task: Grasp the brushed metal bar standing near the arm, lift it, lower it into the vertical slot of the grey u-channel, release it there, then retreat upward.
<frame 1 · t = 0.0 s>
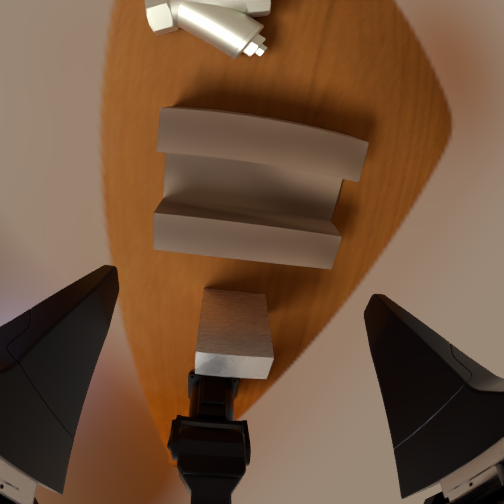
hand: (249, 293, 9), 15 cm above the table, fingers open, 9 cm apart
grey u-channel: (253, 180, 22), on the table
brushed metal bar: (233, 302, 28), on the table
pipe fitting: (213, 26, 16), on the table
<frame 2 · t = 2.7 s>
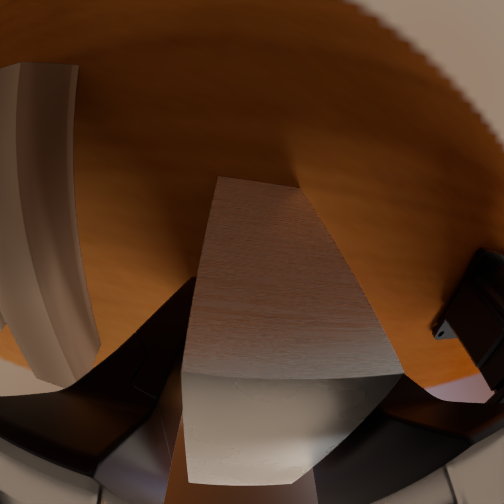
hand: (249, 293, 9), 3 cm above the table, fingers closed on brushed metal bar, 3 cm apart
grey u-channel: (0, 224, 10), on the table
brushed metal bar: (246, 253, 12), on the table, touching gripper
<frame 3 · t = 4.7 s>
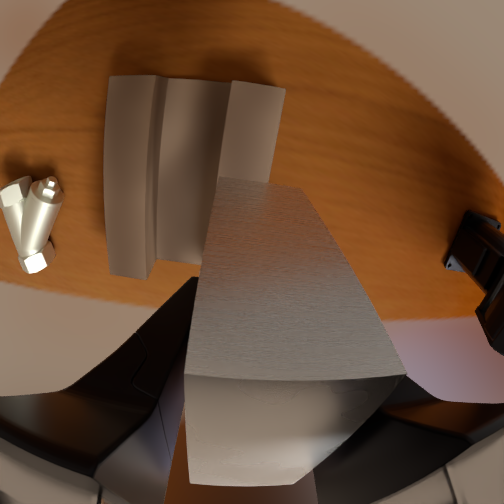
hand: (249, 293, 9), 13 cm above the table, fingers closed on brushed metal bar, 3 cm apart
grey u-channel: (189, 176, 20), on the table
brushed metal bar: (247, 254, 12), point 10 cm above the table, touching gripper
pipe fitting: (48, 212, 21), on the table
when the fingers open (4 cm above the table, at t = 7.0 s): brushed metal bar drops 1 cm, resting on grey u-channel.
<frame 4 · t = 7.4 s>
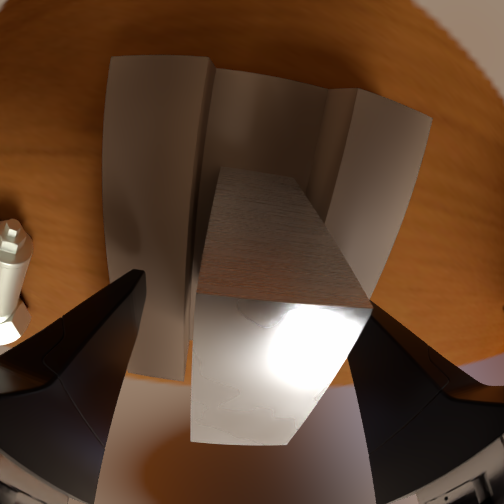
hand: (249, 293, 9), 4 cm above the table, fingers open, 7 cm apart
grey u-channel: (244, 232, 13), on the table
brushed metal bar: (245, 237, 13), resting on grey u-channel
pipe fitting: (16, 261, 14), on the table
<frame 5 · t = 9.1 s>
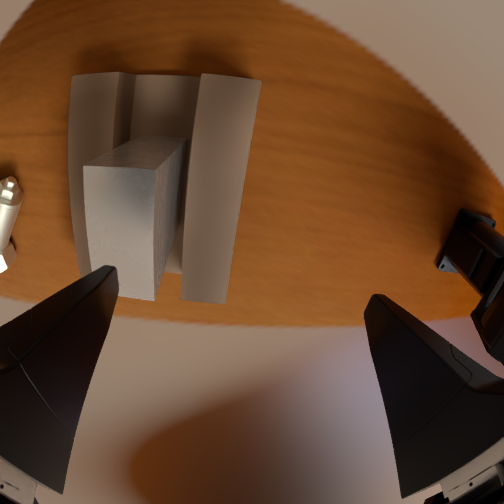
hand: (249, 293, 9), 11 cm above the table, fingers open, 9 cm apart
grey u-channel: (161, 179, 18), on the table
brushed metal bar: (160, 181, 18), resting on grey u-channel
pipe fitting: (10, 212, 18), on the table
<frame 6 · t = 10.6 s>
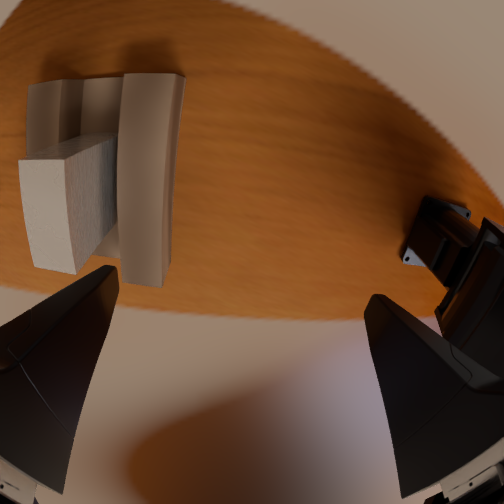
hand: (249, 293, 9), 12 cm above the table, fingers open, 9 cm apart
grey u-channel: (107, 172, 18), on the table
brushed metal bar: (105, 173, 18), resting on grey u-channel
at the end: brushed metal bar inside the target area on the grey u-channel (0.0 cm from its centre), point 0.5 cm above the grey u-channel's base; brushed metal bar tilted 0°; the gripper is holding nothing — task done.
